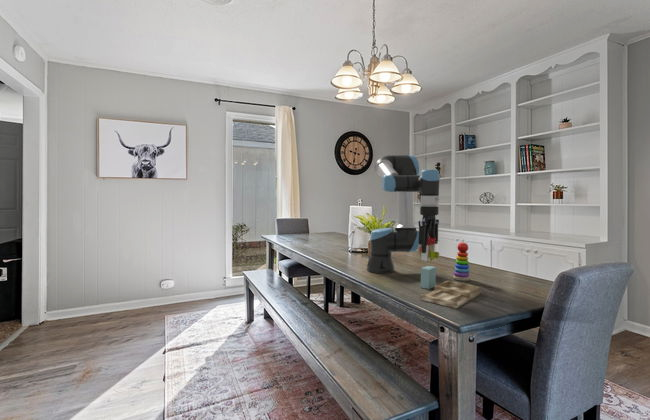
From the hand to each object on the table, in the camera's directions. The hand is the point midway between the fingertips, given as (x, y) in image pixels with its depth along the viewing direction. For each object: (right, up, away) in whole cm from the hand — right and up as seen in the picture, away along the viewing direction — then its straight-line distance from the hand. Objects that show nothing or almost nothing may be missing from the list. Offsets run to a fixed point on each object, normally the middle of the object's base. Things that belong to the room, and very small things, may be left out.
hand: (428, 259), depth 149 cm
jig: (+9, -15, -3) cm, 18 cm away
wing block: (+3, -14, +11) cm, 19 cm away
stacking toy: (+24, -14, +25) cm, 37 cm away
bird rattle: (0, 0, 0) cm, 1 cm away
